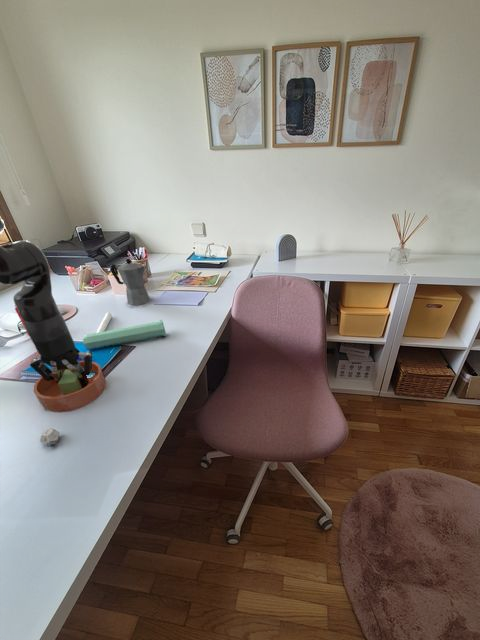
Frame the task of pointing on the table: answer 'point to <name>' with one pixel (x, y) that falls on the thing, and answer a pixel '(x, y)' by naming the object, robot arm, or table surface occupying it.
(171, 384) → the table surface
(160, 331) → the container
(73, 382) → the sponge
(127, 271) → the coffeepot
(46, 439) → the grey rock
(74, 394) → the basin
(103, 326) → the marker
